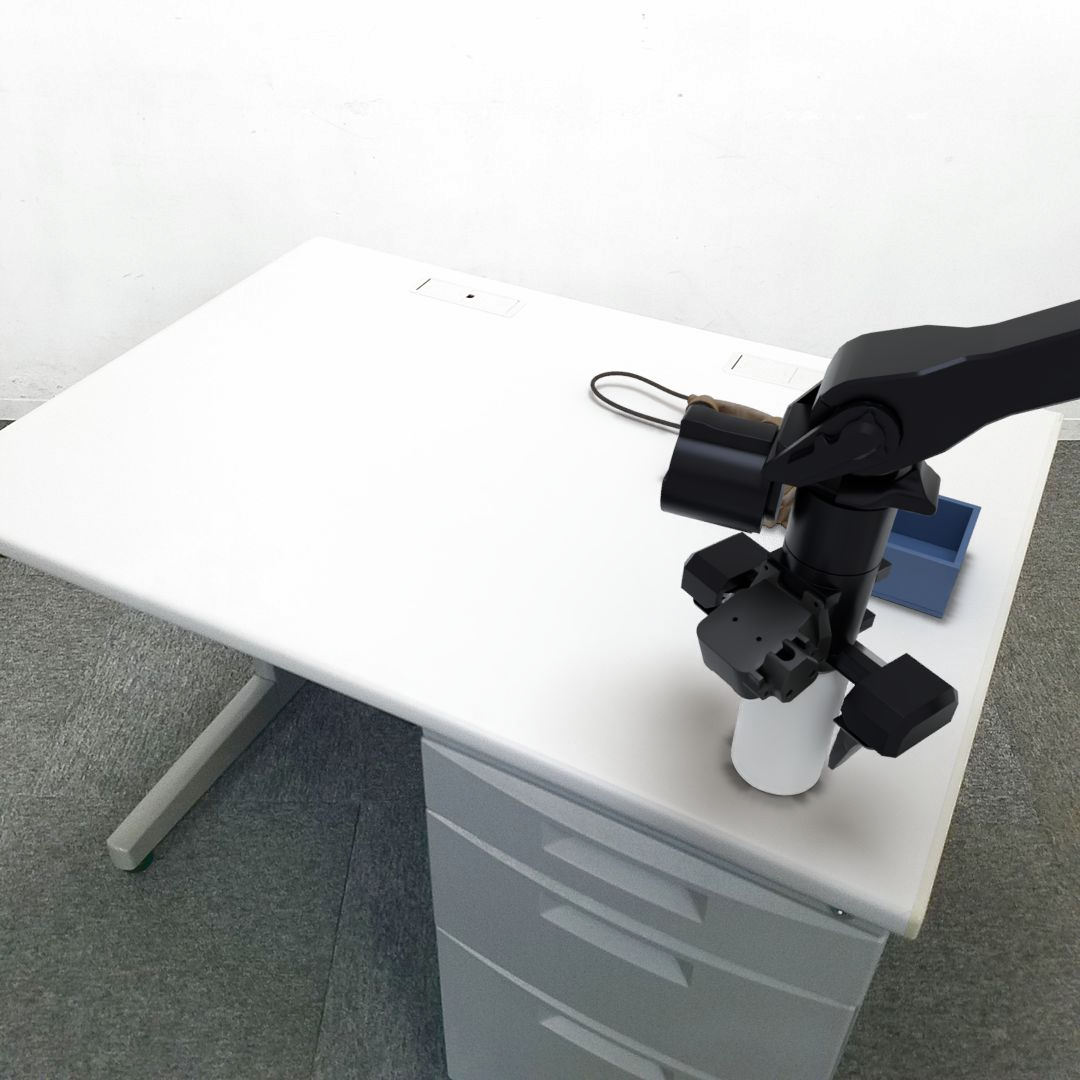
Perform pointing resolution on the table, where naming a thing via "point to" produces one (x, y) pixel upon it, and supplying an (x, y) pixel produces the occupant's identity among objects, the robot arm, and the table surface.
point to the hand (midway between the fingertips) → (784, 721)
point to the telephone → (719, 406)
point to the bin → (927, 555)
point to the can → (788, 735)
